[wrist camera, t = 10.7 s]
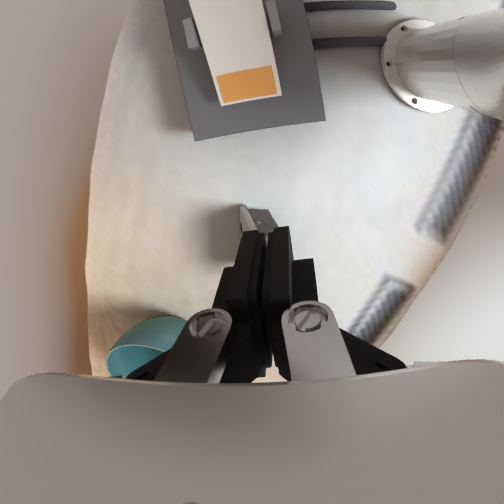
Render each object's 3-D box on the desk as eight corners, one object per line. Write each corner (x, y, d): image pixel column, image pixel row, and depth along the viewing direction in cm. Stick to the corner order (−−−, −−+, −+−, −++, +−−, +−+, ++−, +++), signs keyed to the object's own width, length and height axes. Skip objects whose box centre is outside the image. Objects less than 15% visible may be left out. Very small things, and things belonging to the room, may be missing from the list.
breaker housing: (285, -43, 24) (285, -82, 15) (319, 114, 35) (332, 127, 25) (174, -20, 26) (138, -46, 17) (207, 132, 37) (181, 151, 28)
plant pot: (115, 319, 57) (89, 365, 46) (170, 276, 49) (143, 328, 39) (181, 372, 63) (166, 419, 52) (244, 342, 56) (235, 397, 45)
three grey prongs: (386, -24, 24) (389, -26, 23) (402, 46, 29) (406, 46, 28) (290, -22, 26) (290, -25, 25) (307, 49, 31) (307, 48, 30)
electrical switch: (239, 202, 42) (236, 235, 34) (278, 201, 42) (284, 234, 34) (241, 261, 47) (240, 302, 39) (277, 261, 47) (281, 301, 39)
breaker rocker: (246, -57, 16) (246, -59, 15) (281, 91, 28) (282, 96, 27) (179, -40, 17) (175, -41, 16) (222, 101, 29) (221, 106, 28)
